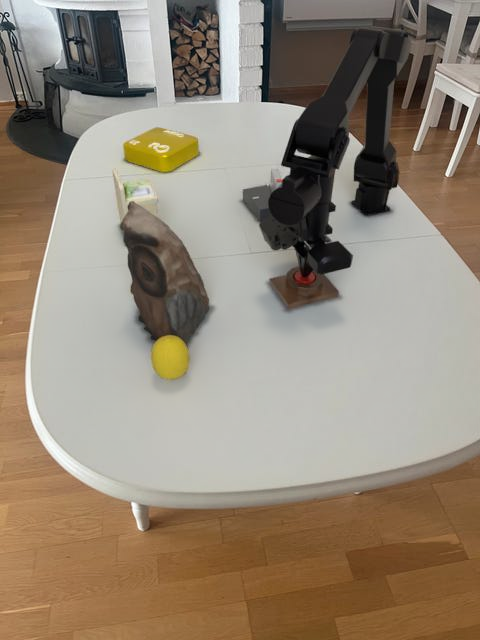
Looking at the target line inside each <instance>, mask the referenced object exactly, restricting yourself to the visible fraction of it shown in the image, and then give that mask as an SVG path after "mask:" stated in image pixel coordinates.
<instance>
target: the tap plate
mask: <svg viewBox="0 0 480 640" xmlns="http://www.w3.org/2000/svg"><path fill="white" fill-rule="evenodd" d="M271 193H272V191H271V188H270V183H269V184H268V183H267V182H265V184H264V185H258V186H253V187H247V188H243V189H242V202H243V203H244V205H245V207H247V208H248V210H249V211H250V212H251V213H252V214H253V216H254V217H255V219H257V221H258V222H259V223H260V222H261V221H263V220H265V219H266V218H268V217H270V216H271V212H270V210H269V206H268V199H269V197H270V195H271Z"/></svg>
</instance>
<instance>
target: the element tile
mask: <svg viewBox="0 0 480 640" xmlns="http://www.w3.org/2000/svg"><path fill="white" fill-rule="evenodd" d="M122 147H123V148H122V149H123V154H124V159H125V161H126V162H128V163H131V164H134V165H137V166H140V167H144V168H148V169H151V170H154V171H157V172H161V173H169V172H172V171H173V170H175V169H177V168H179V167H180V166H182V165H184V164H185V163H187V162H188V161H190V160H192V159H193V158H196V157H197V156H198V155H199V153H200V151H199V138H198V137H196V136H194V135H190V134H186V133H182V132H178V131H175V130H172V129H168V128H164V127H159V126H157V127H153V128H151V129H149V130H146V131H145V132H143V133H141V134H139V135H137V136H135V137H133V138H130V139H129V140H127V141H125V142H124V143H122Z"/></svg>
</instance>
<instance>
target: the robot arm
mask: <svg viewBox="0 0 480 640" xmlns="http://www.w3.org/2000/svg"><path fill="white" fill-rule="evenodd" d="M411 47H412V39H411V38H410V34H409V33H408V32H407V31H406V30H405V29H396V28H390V27H389V28H388V27H381V26H373V25H372V26H370V25H369V26H368V27H364V26H363V27H362V26H360V27H359V28H354V29H353V31H352V33H351V36H350V39H349V46H348V48H347V49H346V51H345V53H344V54H343V57H342V58H341V60H340V62H339V64H338V67H337V68H336V70H335V72H334V74H333V76H332V77H331V80H330V82H329V83H328V85H327V87H326V89H325V90H324V92H323V93H322V95H321V97H319V98H316V99H315V100H313V101H311V102H309V103H308V104H307V106H305V108H304V110H303V111H302V113H301V114H300V116H299V117H298V119H296V120H295V121H294V123H293V126H292V129H291V133H290V135H289V138H288V141H287V143H286V144H287V145H286V148H285V150H284V154H283V155H282V156H283V157H282V160H281V163H280V165H281V167H284V168H287V169H289V174H288V175H286V176H285V177H283V178H282V184H281V185H280V186H279V187H277V188H276V189H275V190H274V191H273V192H272V193H271V195H270V197H269V199H268V206H269V210H270V212H271V216H270V217H268V218H266V219H265V220H263V221H261V222H259V224H258V226H259V229H260V232H261V234H262V236H263V240H264V241H265V242H266V243H267V245H268V246H269V247H270V249H271V250H272V251H280V250H281V249H282V250H283V251H286V250H287V249H290V248H291V247H293V248H294V251H295V255H296V258H297V263H298V267H299V268H300V272H301V275H302V276H303V277H308V276H309V275H310V274H311V272H312V271H313V270H314V271H315V272H316V273H318V274H324V275H325V274H330V273H333V272H339V271H343V270H346V269H350V268H351V267H352V264H353V258H354V255H353V253H351V252H350V251H349V250H348V249H347V247H345V245H343V244H342V243H341V242H340V241H339V240H336V241H335V240H334V241H333V240H332V239H331V238H330V237H329V236H328V235H332V234H333V227H332V226H331V225H330V224H329V221H330V213H334V212H336V208H337V204H335V203H334V202H333V201H332V198H333V190H334V183H335V175H336V170H340V167H341V165H342V162H343V159H344V157H345V154H346V152H347V150H348V147H349V145H350V142H351V138H350V124H349V117H350V115H351V112H352V110H353V108H354V106H355V104H356V103H357V101H358V99H359V96H360V95H361V93H362V91H363V89H364V87H365V85H366V106H365V107H366V108H365V132H364V133H365V134H364V135H365V136H364V144H363V146H362V148H361V150H360V151H359V153H358V154H357V155H356V157H355V160H354V163H353V182H356V183H358V186H357V188H356V189H355V196H354V200H351V205H353V206H354V207H355V208H356V209H357V210H359V212H361V213H362V214H363V215H364V216H367V217H368V216H371V215H377V214H381V213H387V212H390V211H391V207H390V206H388V205H387V203H388V200H389V194H390V191H392V189H396V188H397V187H398V185H399V180H400V173H401V172H400V167H399V162H397V150H396V148H395V147H394V145H393V144H392V143H391V141H390V136H391V124H392V115H393V104H394V103H393V101H394V92H395V91H394V90H395V80H396V78H397V77H398V75H399V73H400V71H401V70H402V68H403V67H404V65H405V63H406V62H407V60H408V59H409V56H410V52H411ZM296 152H297V153H301V154H305V155H309V156H308V157H306V156H301V155H299V154H296Z"/></svg>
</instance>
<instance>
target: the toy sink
mask: <svg viewBox="0 0 480 640" xmlns="http://www.w3.org/2000/svg"><path fill="white" fill-rule="evenodd" d="M111 170H112V177H113V183H114V190H115V197H116V203H117V209H118V215H119V221H120V223H121V222H122V220H123V218H124V217H125V215H126V214H127V212H128V207H127V206H128V205H129V202H131V201H134V202H135V203H136V204H138V205H140V206H142V207H143V208H144V209H146V210H147V211H148V212H150V213H151V214H153V215H154V216H156V217H157V218H159V214H158V202H159V196H158V194H157V192H156V190H155V188H154V186H153V183H152V181H151V180H150V179H140V180H137V181H125V182H123V181H122V178H121V176H120V173H119V170H118V169H117V168H112V169H111ZM122 232H123V233H124V231H123V230H122Z"/></svg>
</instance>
